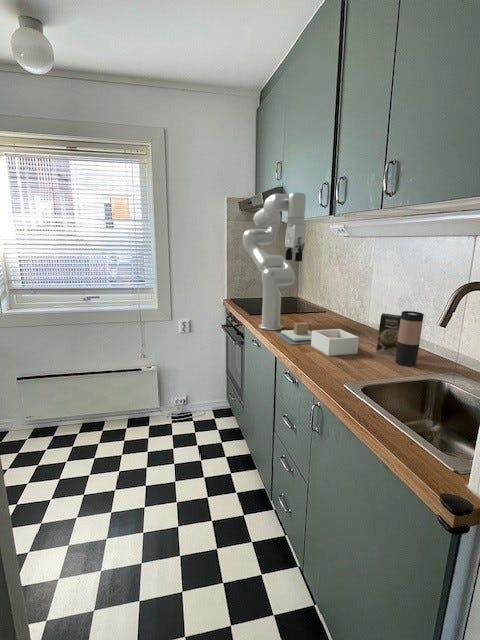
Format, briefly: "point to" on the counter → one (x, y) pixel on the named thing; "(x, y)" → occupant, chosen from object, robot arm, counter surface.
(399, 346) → the travel mug
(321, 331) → the storage box
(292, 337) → the lid
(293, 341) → the mat
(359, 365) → the counter surface
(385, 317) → the coffee box
